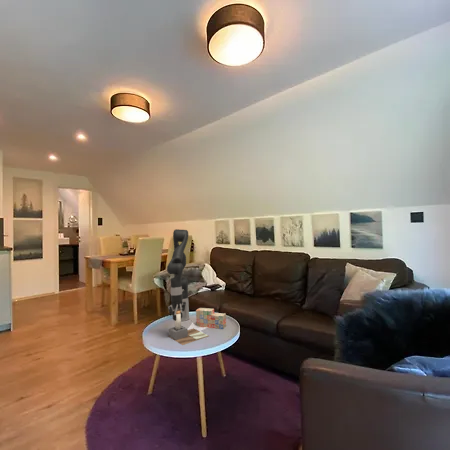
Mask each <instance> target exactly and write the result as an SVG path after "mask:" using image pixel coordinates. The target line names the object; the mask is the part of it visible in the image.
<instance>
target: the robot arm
mask: <svg viewBox="0 0 450 450" xmlns="http://www.w3.org/2000/svg"><path fill="white" fill-rule="evenodd" d="M172 240H173V252H172V255H171V260H170V261H169V263H168V264H167V267H166V271H167V273H168V274H169V275H174V277H172V278H170V301H171V303H170V305H168V306H167V309H168V312H169V315H171V316H172V320H173V321H174V322H175V321H176V311H177V310H180V311H181V322H184V321H188V320H190V309H189V306H190V303H189V280H188V277H182V276H183V272H184V269H185V268H186V265H187V255H186V254H185V249H186V246H187V244H188V241H189V231H188V230H187V229H174V230H173V232H172Z"/></svg>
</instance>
